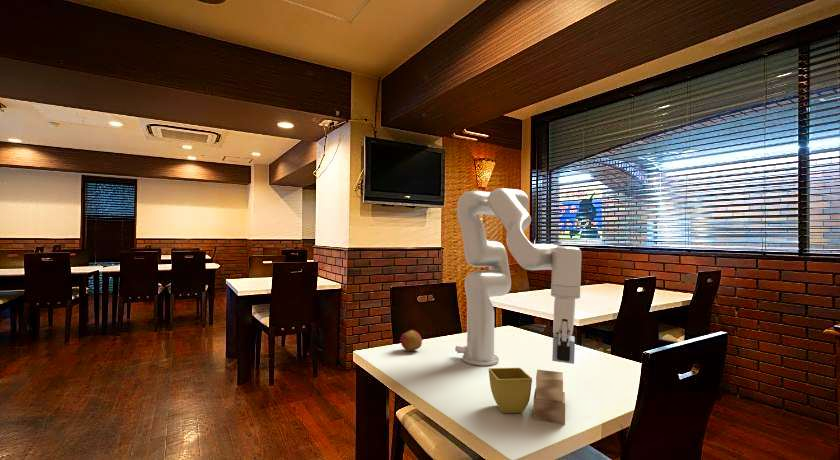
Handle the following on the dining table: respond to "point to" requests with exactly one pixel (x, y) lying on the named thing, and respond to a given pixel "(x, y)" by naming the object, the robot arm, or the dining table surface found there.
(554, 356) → the slate block
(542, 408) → the brown wooden block
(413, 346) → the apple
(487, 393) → the dining table surface
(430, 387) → the dining table surface
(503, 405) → the flower pot
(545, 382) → the oak middle block
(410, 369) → the dining table surface
